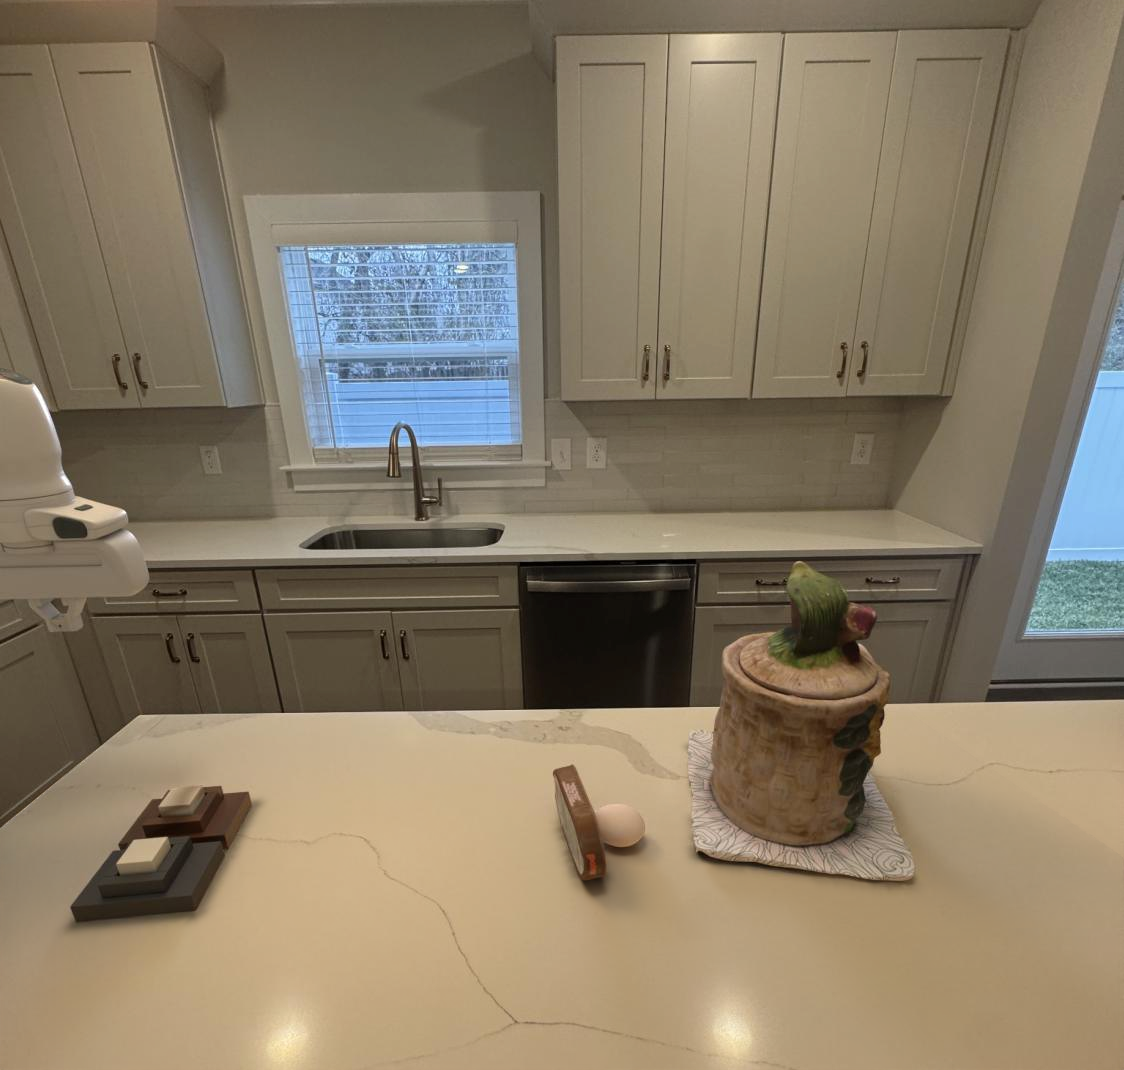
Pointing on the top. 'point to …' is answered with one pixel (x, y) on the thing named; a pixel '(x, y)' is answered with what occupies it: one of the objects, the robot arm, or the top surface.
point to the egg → (620, 825)
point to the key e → (182, 801)
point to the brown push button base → (194, 819)
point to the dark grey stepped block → (151, 884)
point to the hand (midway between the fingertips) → (67, 629)
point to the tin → (579, 824)
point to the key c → (144, 856)
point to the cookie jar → (799, 745)
